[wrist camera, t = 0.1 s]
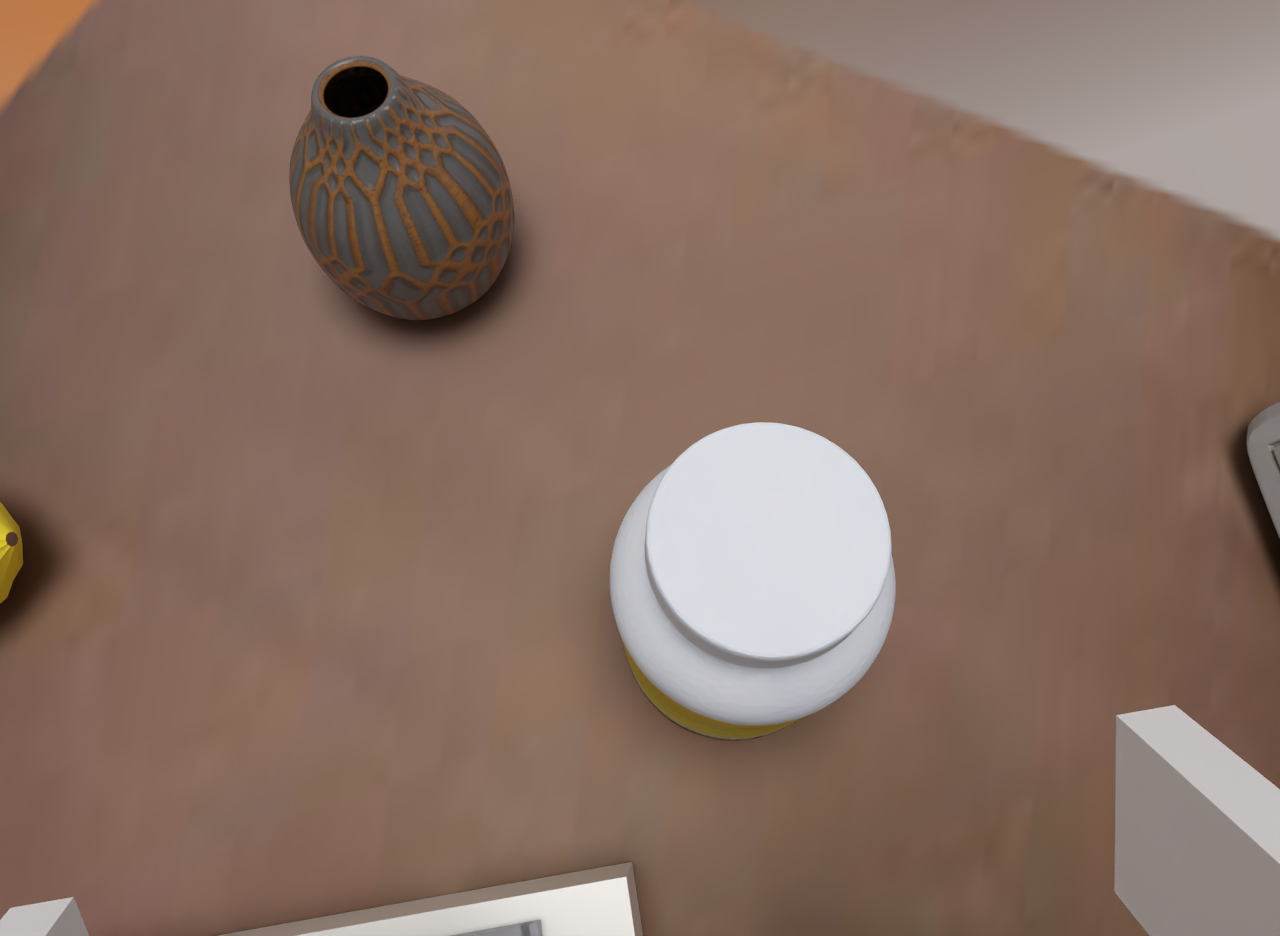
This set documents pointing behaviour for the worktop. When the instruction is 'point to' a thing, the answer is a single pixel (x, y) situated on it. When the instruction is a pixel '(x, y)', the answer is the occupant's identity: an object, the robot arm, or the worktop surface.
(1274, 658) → the worktop surface
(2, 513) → the lemon
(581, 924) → the rocker switch box
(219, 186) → the worktop surface
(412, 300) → the vase
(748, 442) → the pill bottle
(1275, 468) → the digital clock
